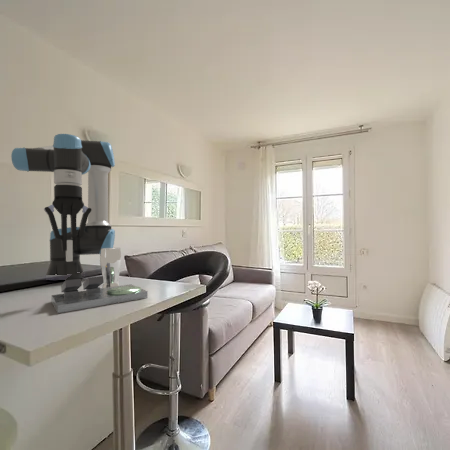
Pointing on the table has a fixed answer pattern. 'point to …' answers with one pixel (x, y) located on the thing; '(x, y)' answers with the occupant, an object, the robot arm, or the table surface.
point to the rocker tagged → (71, 285)
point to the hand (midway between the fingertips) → (69, 260)
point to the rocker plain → (93, 282)
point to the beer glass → (110, 266)
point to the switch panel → (96, 297)
